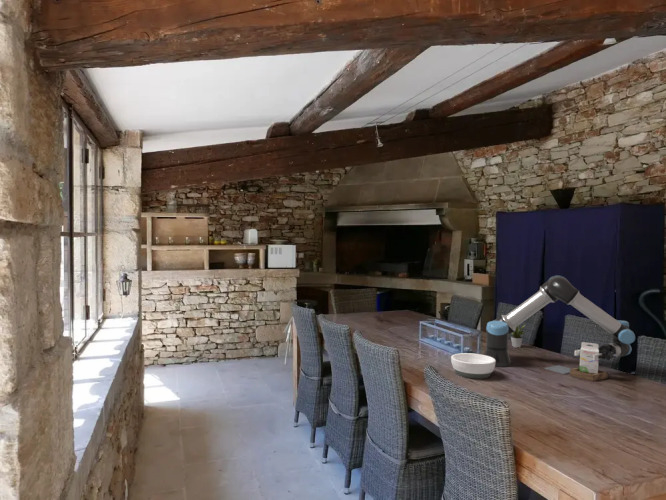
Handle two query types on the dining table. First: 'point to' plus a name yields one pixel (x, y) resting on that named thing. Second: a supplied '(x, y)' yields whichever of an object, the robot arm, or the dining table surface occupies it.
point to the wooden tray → (588, 374)
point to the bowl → (473, 365)
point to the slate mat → (559, 369)
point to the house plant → (517, 337)
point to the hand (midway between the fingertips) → (584, 355)
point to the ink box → (589, 358)
